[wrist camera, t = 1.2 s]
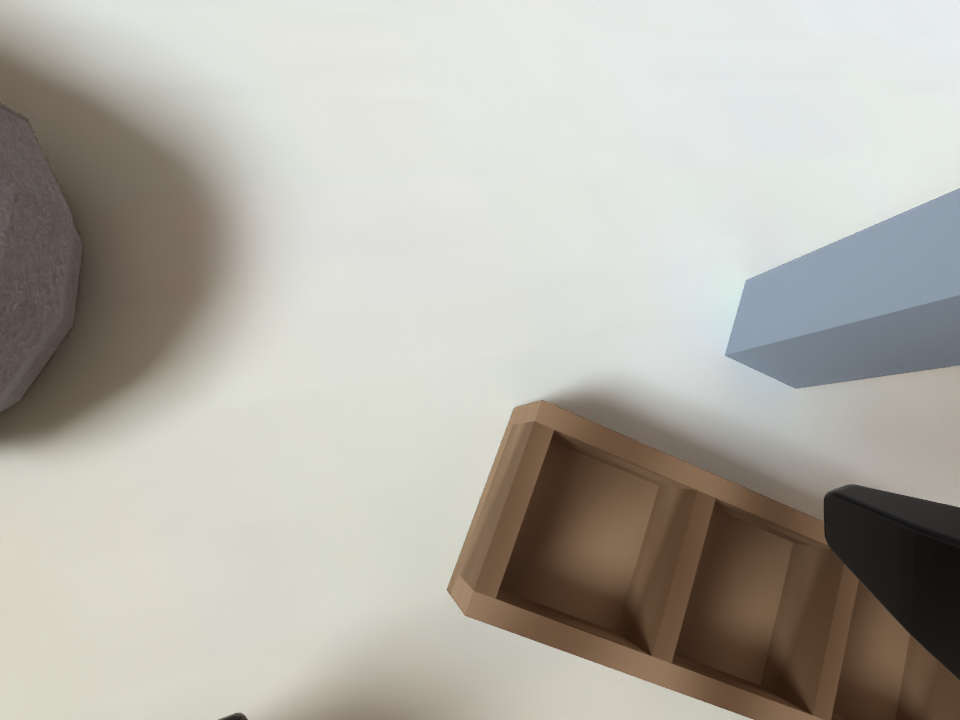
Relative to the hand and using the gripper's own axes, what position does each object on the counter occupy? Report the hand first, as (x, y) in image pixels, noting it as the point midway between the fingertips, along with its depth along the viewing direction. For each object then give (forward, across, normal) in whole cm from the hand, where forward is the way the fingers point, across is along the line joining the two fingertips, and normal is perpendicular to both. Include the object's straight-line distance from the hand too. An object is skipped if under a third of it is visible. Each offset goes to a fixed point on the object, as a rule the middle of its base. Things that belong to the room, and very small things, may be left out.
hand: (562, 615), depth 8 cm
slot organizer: (+11, -9, +13) cm, 19 cm away
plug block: (+16, -16, +4) cm, 23 cm away
